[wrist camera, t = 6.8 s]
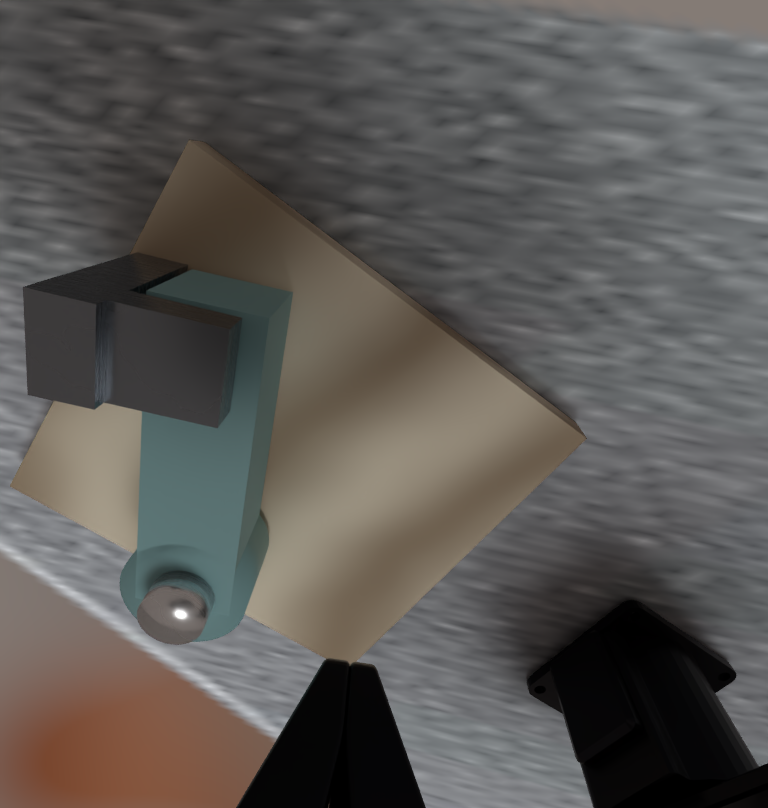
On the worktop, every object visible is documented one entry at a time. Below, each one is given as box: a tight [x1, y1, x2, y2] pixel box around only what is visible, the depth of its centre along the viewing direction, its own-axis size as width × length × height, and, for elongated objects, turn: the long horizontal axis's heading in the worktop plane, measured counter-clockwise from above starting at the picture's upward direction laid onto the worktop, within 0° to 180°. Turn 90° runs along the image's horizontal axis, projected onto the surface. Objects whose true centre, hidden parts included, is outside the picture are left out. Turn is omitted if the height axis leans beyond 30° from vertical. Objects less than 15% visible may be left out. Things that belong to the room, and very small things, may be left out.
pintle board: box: [10, 140, 587, 665], centre depth 17 cm, size 15×14×6 cm
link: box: [120, 269, 293, 645], centre depth 16 cm, size 12×4×4 cm, turn 167°
